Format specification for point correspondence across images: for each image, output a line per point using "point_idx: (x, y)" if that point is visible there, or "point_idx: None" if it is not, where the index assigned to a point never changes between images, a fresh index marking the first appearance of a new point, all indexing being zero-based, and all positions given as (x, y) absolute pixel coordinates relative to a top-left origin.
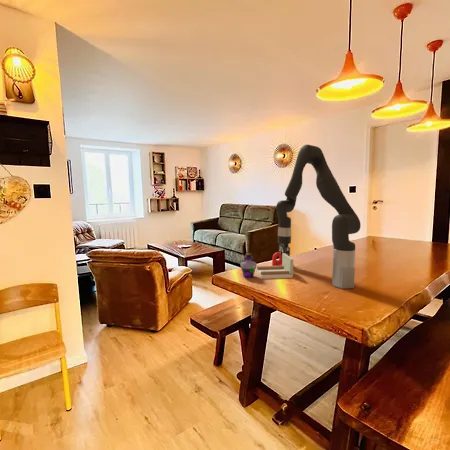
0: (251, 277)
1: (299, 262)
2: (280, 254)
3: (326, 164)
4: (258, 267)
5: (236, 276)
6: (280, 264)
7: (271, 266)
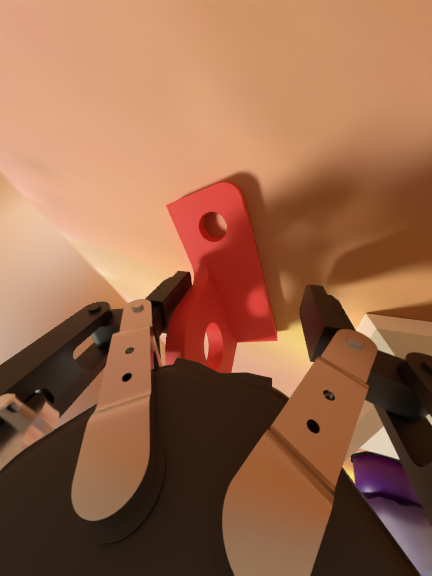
0: (400, 464)
1: (113, 32)
2: (193, 357)
3: None
4: (346, 456)
5: (350, 475)
6: (243, 304)
7: (375, 425)
